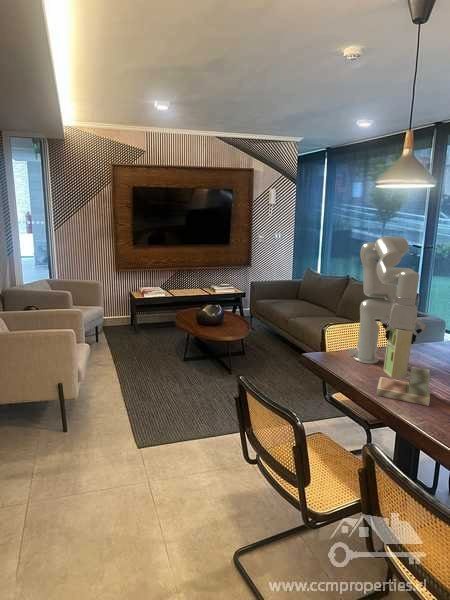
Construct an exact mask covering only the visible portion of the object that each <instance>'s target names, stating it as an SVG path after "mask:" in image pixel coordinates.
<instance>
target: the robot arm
mask: <svg viewBox="0 0 450 600" xmlns="http://www.w3.org/2000/svg"><path fill="white" fill-rule="evenodd" d="M408 251H409V242H408V241H407V239H406V238H404V237H399V236H382V237H381V236H380V237H379V238H377V240H376V241H375V242H374V241H370V242H365V243H363V244H362V245H361V247H360V253H359V257H360V261H361V262H360V263H361V265H362V269H363V270H362V271H363V273H362V274H363V280H362V281H363V286H362V287H363V294H364V296H367V297H371V298H372V299H370V298H369V299H364V300H363V301H361V302H360V305H359V316H360V317H359V330H358V337H357V338H358V339H357V348H354V349H352V348H348V349H347V353H349V354H351V355H352V359H353V360H355V362H356V361H357V362H358V363H363V364H370V365H372V364H373V365H374V364H377V363H378V362H379V358H378V357H377V349H378V341H379V334H380V326H379V324H378V323H377V321H376V319H377V320H379V321H380V323H381V325H382V327H383V328H384V330H385V335H384V336H385V338H386V341H388V340H389V333H390V329H391V328H397V329H403V330H412V332H413V335H412V342H411V345H414V343H416V339H417V335H419V334H420V333H422V331H423V330H425V328H426V324H424V323H423V322H421V321H420V320H419V319H417V318H418V307H417V305H416V302H417V296H418V295H417V294H418V288H419V281H420V274H419V272H417V271H415V270H414V269H412V268H409V267H396V266H397V265H398V264H400V263H401V261H402V257H404V256H405V255H406V254H407V253H408ZM376 260H378V262H377V261H376ZM373 298H383V299H373ZM386 321H388V325H387V324H386ZM417 325H418V326H420V327H419V328H418V329H416V326H417Z"/></svg>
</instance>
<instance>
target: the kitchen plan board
mask: <svg viewBox="0 0 450 600" xmlns="http://www.w3.org/2000/svg"><path fill="white" fill-rule="evenodd" d="M430 372H431V369H428V368H423V367H418V366H417V367H415V366H411V369H410V375H409V381H405V380H399V379H396V378H391V377H384V376H379V379H378V384H377V388H376V396H379V397H384V398H388V399H394V400H397V401H403V402H407V403H408V402H409V403H412V404H418V405H422V406H427V407H429V406H430V402H431V401H430V399H431V393H430V391H431V390H430V381H431V373H430Z"/></svg>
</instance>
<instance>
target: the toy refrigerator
mask: <svg viewBox="0 0 450 600" xmlns="http://www.w3.org/2000/svg"><path fill="white" fill-rule="evenodd" d="M412 335H413V332H412V330H403V329H397V328H391V329H390V333H389V340H386V341H387V342H386V347H385V348H386V349H385V356H384V363H383V372H384V373H385V374H387V376H388V377H389V378H390V379H406V378H407V375H408V368H409V362H410V354H411V350H412V349H411V348H412V344H411V342H412Z"/></svg>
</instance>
